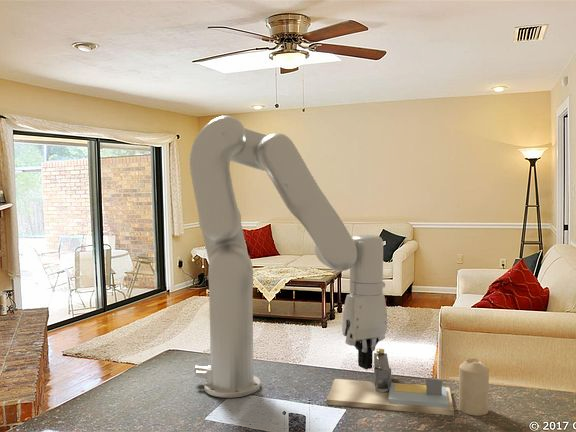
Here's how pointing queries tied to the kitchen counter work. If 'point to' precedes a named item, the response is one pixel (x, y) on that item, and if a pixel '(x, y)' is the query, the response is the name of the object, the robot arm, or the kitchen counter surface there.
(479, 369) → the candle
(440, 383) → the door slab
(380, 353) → the latch bar
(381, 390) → the pivot post
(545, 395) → the kitchen counter surface
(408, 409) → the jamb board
